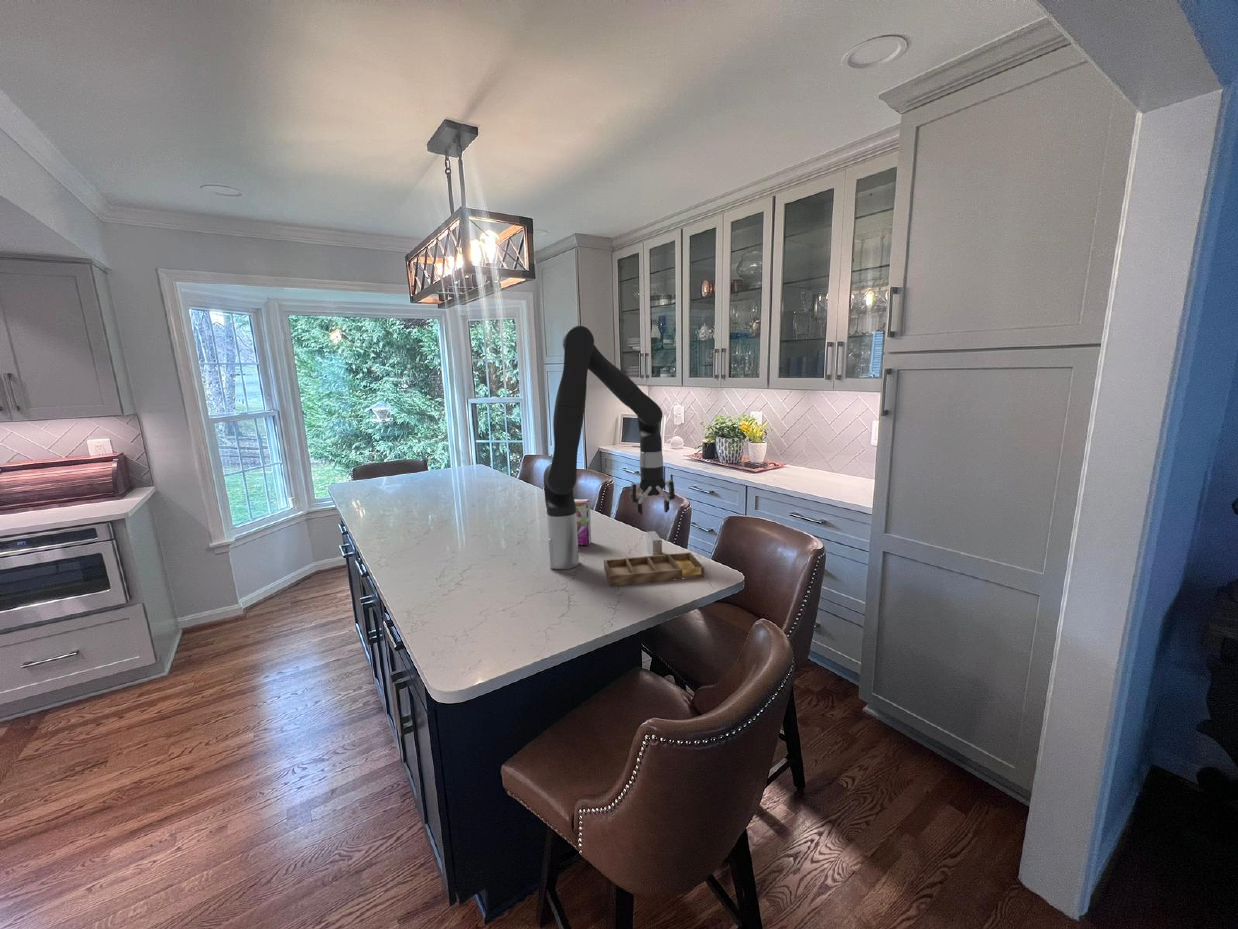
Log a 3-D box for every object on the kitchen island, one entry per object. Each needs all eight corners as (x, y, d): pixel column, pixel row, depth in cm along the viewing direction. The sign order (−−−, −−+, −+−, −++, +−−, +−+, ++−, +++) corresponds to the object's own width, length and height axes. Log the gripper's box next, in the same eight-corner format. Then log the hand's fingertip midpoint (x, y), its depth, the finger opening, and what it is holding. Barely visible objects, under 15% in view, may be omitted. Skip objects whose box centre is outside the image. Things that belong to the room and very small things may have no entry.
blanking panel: (653, 561, 161) (652, 540, 160) (646, 551, 171) (646, 531, 170) (662, 560, 161) (661, 539, 160) (655, 550, 171) (654, 531, 170)
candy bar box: (559, 546, 179) (556, 502, 176) (562, 542, 184) (559, 499, 181) (589, 546, 178) (587, 501, 175) (591, 542, 183) (589, 498, 180)
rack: (610, 586, 142) (609, 576, 141) (604, 569, 155) (603, 560, 155) (704, 577, 146) (704, 567, 145) (690, 561, 160) (690, 552, 159)
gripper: (632, 468, 156) (634, 518, 159) (676, 465, 159) (677, 514, 161) (628, 464, 164) (630, 512, 166) (669, 461, 166) (671, 508, 169)
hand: (653, 513), depth 164 cm, fingers open, 8 cm apart
